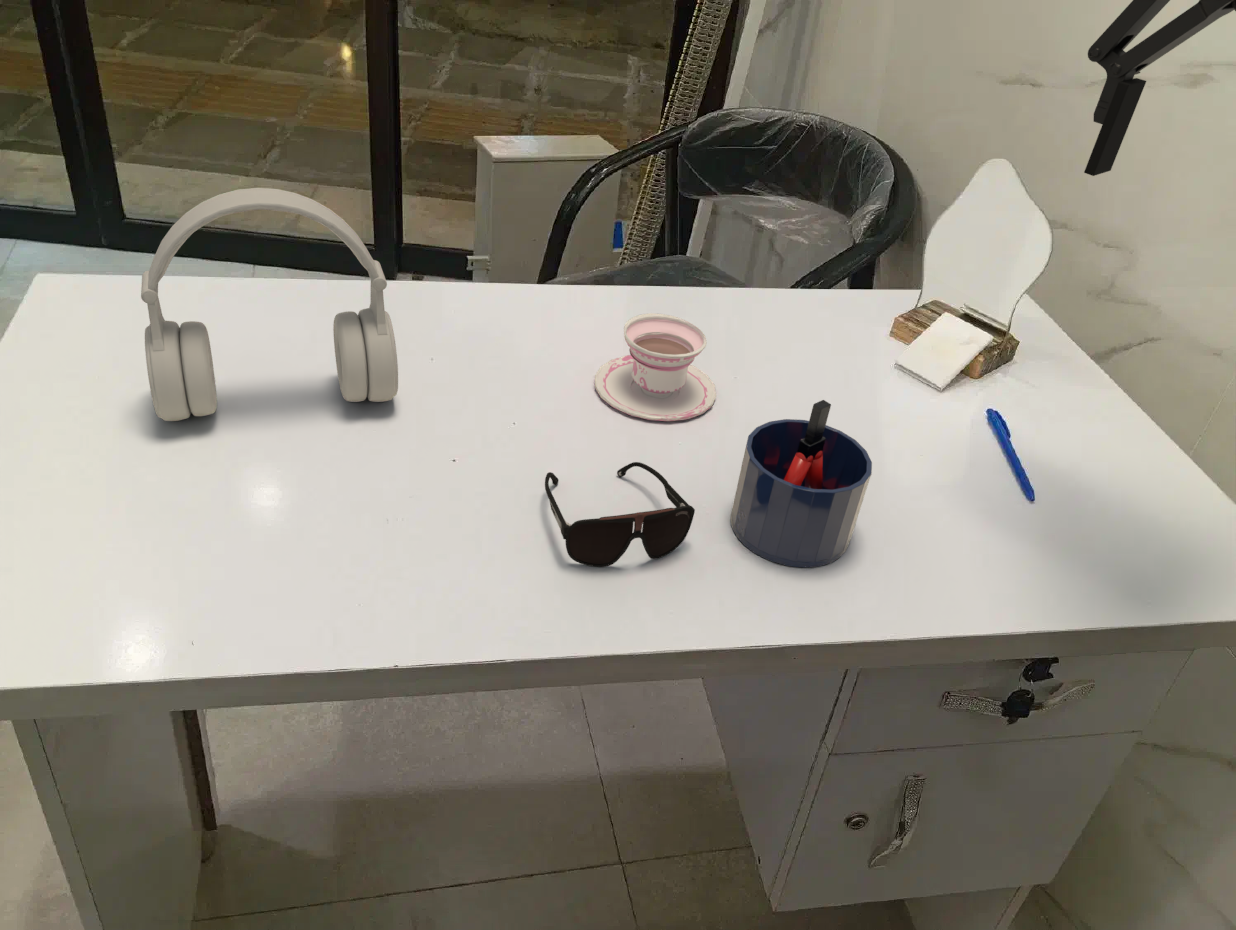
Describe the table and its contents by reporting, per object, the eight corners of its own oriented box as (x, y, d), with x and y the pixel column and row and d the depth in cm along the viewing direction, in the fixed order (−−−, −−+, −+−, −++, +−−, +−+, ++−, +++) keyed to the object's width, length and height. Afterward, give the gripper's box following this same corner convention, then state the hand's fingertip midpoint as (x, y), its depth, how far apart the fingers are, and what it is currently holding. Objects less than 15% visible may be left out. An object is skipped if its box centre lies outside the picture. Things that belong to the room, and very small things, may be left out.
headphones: (386, 370, 95) (379, 173, 84) (401, 418, 89) (396, 212, 78) (159, 389, 89) (118, 178, 77) (158, 442, 82) (113, 221, 71)
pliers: (832, 516, 83) (867, 399, 76) (775, 548, 79) (806, 427, 72) (805, 497, 85) (836, 382, 78) (748, 527, 80) (776, 408, 74)
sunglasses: (568, 581, 74) (571, 523, 71) (526, 500, 83) (527, 448, 81) (698, 560, 77) (705, 505, 75) (643, 486, 87) (647, 435, 84)
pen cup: (872, 538, 82) (897, 465, 78) (795, 584, 76) (817, 508, 72) (784, 478, 88) (802, 406, 83) (706, 517, 82) (721, 442, 78)
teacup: (739, 410, 96) (750, 354, 92) (631, 434, 91) (639, 375, 87) (675, 351, 104) (683, 298, 101) (573, 369, 99) (578, 314, 95)
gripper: (1623, -112, 53) (1398, 260, 65) (1167, -173, 67) (1053, 141, 79) (1597, -115, 48) (1361, 284, 61) (1115, -179, 63) (1003, 154, 75)
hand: (1186, 204), depth 70 cm, fingers open, 13 cm apart
